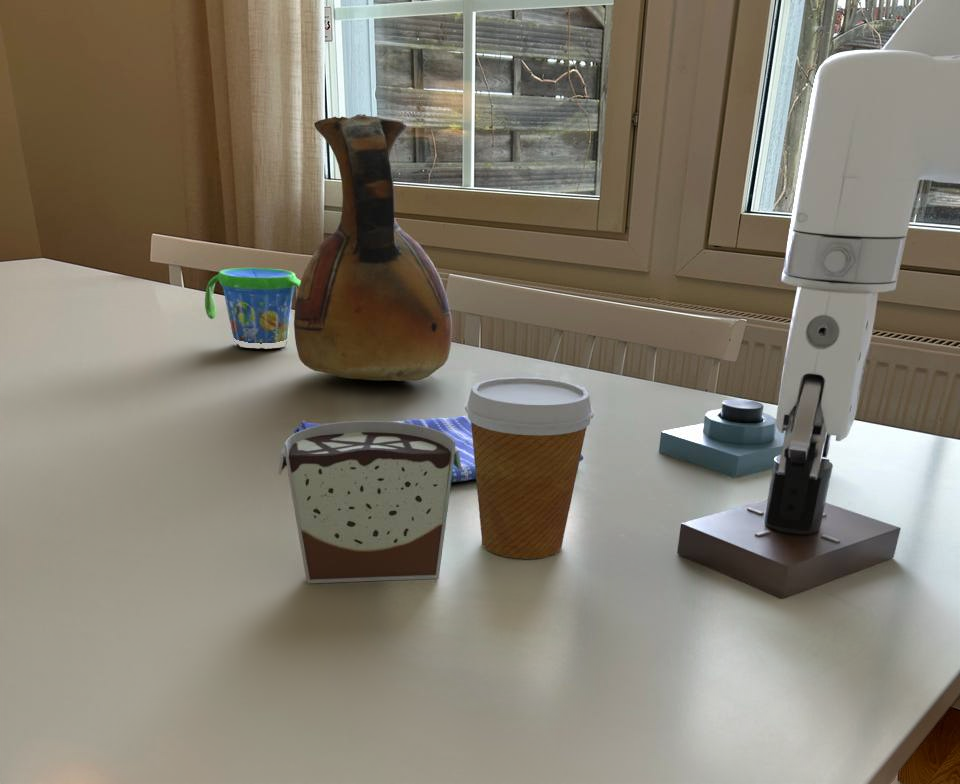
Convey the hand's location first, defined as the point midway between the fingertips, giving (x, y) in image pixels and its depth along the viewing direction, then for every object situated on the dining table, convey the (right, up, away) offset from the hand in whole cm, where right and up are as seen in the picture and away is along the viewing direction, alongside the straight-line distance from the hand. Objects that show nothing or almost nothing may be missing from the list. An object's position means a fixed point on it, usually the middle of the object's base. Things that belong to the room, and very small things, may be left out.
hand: (793, 514), depth 75 cm
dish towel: (-29, +8, +21) cm, 36 cm away
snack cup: (-56, +33, +67) cm, 93 cm away
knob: (0, -1, 0) cm, 1 cm away
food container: (-32, -4, -3) cm, 32 cm away
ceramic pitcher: (-38, +23, +51) cm, 67 cm away
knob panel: (0, -3, +2) cm, 3 cm away
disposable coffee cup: (-21, -2, +2) cm, 21 cm away
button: (+2, +12, +24) cm, 27 cm away
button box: (+2, +9, +25) cm, 27 cm away
